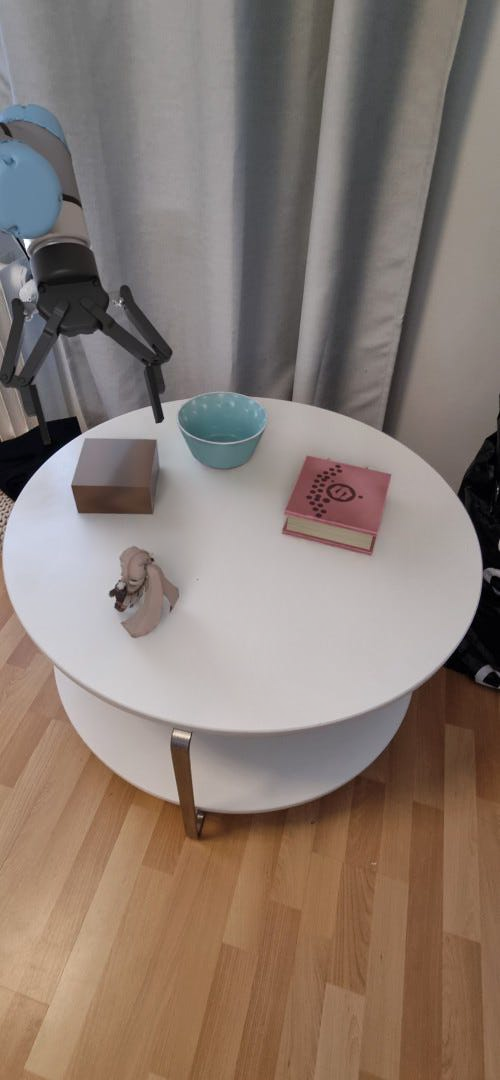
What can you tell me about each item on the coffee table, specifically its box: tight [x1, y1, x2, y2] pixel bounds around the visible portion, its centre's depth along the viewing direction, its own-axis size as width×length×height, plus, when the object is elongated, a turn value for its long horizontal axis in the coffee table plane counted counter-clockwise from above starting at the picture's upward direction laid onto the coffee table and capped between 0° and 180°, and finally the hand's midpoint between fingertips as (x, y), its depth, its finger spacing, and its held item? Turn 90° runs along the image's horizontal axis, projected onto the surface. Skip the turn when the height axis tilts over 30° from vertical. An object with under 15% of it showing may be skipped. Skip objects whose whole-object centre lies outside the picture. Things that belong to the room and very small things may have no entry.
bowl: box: [175, 391, 269, 470], centre depth 103 cm, size 16×16×8 cm
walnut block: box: [70, 437, 160, 515], centre depth 96 cm, size 12×12×6 cm
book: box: [281, 454, 392, 557], centre depth 95 cm, size 14×15×5 cm
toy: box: [107, 545, 180, 639], centre depth 76 cm, size 9×8×15 cm
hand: (105, 431), depth 71 cm, fingers open, 13 cm apart
